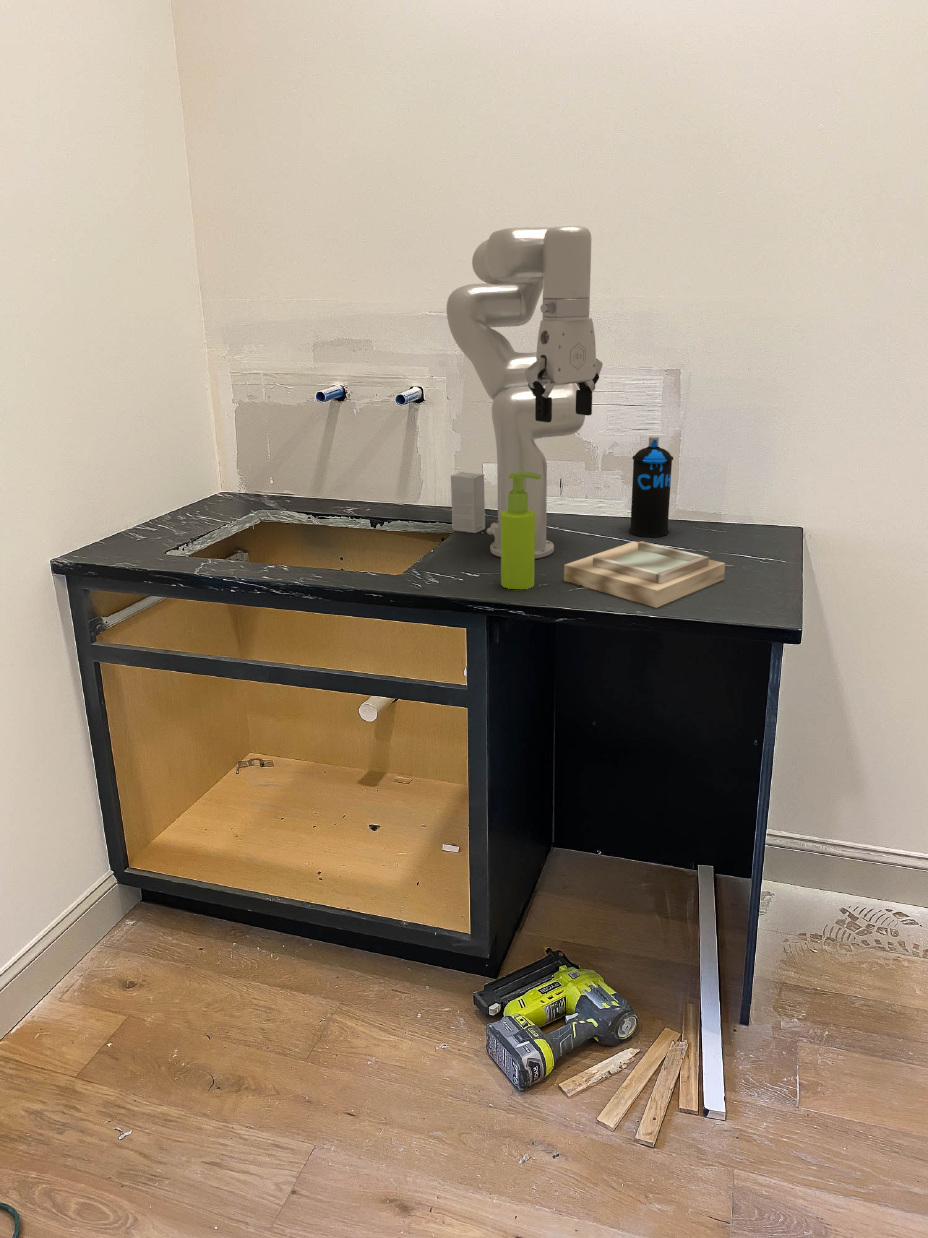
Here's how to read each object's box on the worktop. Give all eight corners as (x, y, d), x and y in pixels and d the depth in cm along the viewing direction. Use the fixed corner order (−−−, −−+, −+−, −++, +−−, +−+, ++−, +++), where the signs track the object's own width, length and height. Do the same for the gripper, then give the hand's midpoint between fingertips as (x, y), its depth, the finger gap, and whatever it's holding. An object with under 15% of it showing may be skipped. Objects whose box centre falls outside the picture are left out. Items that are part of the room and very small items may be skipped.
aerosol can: (624, 527, 193) (628, 433, 185) (662, 526, 193) (667, 432, 186) (634, 538, 185) (639, 440, 178) (673, 536, 185) (680, 439, 178)
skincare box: (485, 529, 194) (485, 474, 190) (475, 533, 191) (474, 478, 186) (462, 525, 197) (460, 471, 193) (451, 530, 194) (449, 475, 189)
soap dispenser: (538, 591, 156) (539, 477, 149) (498, 589, 157) (497, 476, 150) (542, 580, 161) (543, 469, 154) (503, 578, 163) (503, 469, 155)
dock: (563, 580, 161) (564, 556, 159) (632, 556, 173) (633, 533, 172) (656, 607, 147) (658, 581, 145) (723, 579, 160) (726, 555, 158)
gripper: (544, 313, 137) (543, 426, 143) (619, 308, 147) (615, 414, 153) (510, 312, 142) (510, 421, 148) (585, 307, 153) (582, 409, 159)
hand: (563, 417), depth 151 cm, fingers open, 9 cm apart
